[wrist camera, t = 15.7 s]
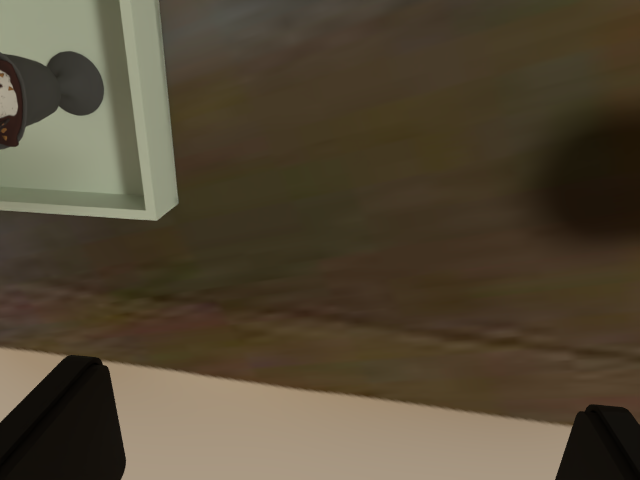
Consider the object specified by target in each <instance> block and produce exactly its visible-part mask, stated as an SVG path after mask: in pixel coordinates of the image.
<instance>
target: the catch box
mask: <svg viewBox="0 0 640 480" xmlns="http://www.w3.org/2000/svg"><path fill="white" fill-rule="evenodd" d="M65 51H72V52H76V53H79V54H81V55H83V56H85V57H86V58H88V59H89V60H90V61H91V62H92V63H93V64H94V65H95V67H96V68H97V69H98V71H99V73H100V75H101V77H102V81H103V85H104V96H103V100H102V103H101V105H100V106H99V108H98V109H97V110H96V111H94V112H93V113H91V114H89V115H83V116H77V115H74V114H71V113H68V112H66V111H65V110H63V109H62V108H60V107H59V106H58V109H57V110H56V111H55V112H54V113H52V114H51V115H49V116H48V117H46V118H44V119H43V120H41V121H39V122H36V123H34V124H32V125H29V126H27V127H26V128H25V131H24V134H23V137H22V139H21V140H20V141H19V145H18V146H17V147H9V148H6V149H1V150H0V210H6V211H21V212H36V213H51V214H66V215H80V216H95V217H110V218H125V219H140V220H155V221H157V220H158V219H159V218H161V217H162V216H163V215H164V214H166V213H167V212H168V211H169V210H171V209H172V208H173V207H174V206H176V205H177V204H178V194H177V183H176V173H175V163H174V152H173V142H172V132H171V121H170V111H169V100H168V90H167V80H166V69H165V59H164V49H163V38H162V28H161V17H160V7H159V0H0V52H1V53H2V54H9V55H15V56H20V57H24V58H27V59H30V60H34V61H37V62H39V63H41V64H43V65H44V66H46V67H47V65H48V63H49V61H50V59H51V58H52V57H53V56H55V55H56V54H58V53H60V52H65Z"/></svg>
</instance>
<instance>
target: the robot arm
mask: <svg viewBox="0 0 640 480" xmlns="http://www.w3.org/2000/svg"><path fill="white" fill-rule="evenodd" d="M125 465H126V457H125V452H124V447H123V441H122V436H121V431H120V426H119V420H118V415H117V409H116V404H115V399H114V393H113V388H112V383H111V378H110V373H109V369H108V367H107V366H104V365H103V364H102V361H101V360H100V359H99V358H96V357H87V356H76V355H70V356H67V357H66V358H64V359H63V360H62V361H61V362H60V363H59V364H58V365H57V366H56V367H55V368H54V369H53V370H52V371H51V372H50V373H49V374H48V375H47V376H46V377H45V378H44V379H43V380H42V381H41V382H40V383H39V384H38V385H37V386H36V387H35V388H34V389H33V390H32V391H31V392H30V393H29V394H28V395H27V396H26V397H25V398H24V399H23V400H22V401H21V402H20V403H19V404H18V405H17V406H16V408H14V409H13V410H12V411H11V412H10V413H9V415H7V416H6V417H5V418H4V419H3V420H2V421H1V423H0V480H121V478H122V476H123V473H124V470H125ZM555 480H640V425H639V424H638V422H637V421H636V420H635V418H634V417H633V415H632V414H631V413H630V412H629V411H628V410H627V409H625V408H623V407H615V406H604V405H594V404H593V405H589V406H588V407H587V408H586V410H585V412H583V411H580V412H579V413H577V415H576V418H575V421H574V424H573V427H572V430H571V433H570V436H569V439H568V442H567V445H566V448H565V451H564V454H563V457H562V460H561V463H560V467H559V470H558V473H557V476H556V479H555Z"/></svg>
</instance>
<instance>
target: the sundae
mask: <svg viewBox="0 0 640 480" xmlns="http://www.w3.org/2000/svg"><path fill="white" fill-rule="evenodd" d="M103 96H104V85H103V81H102V77H101V75H100V73H99V71H98V69H97V68H96V67H95V65H94V64H93V63H92V62H91V61H90V60H89V59H88V58H86V57H85V56H83V55H81V54H79V53H76V52H72V51H65V52H60V53H58V54H56V55H55V56H53V57H52V58H51V59H50V61H49V63H48V65H47V67H46V66H44V65H43V64H41V63H39V62H37V61H34V60H30V59H27V58H24V57H20V56H15V55H9V54H2V53H1V52H0V150H1V149H6V148H9V147H17V146H18V145H19V141H20V140H21V139H22V137H23V134H24V131H25V128H26V127H27V126H29V125H32V124H34V123H36V122H39V121H41V120H43V119H44V118H46V117H48V116H49V115H51V114H52V113H54V112H55V111H56V110H57V109H58V106H59V107H60V108H62V109H63V110H65V111H66V112H68V113H71V114H74V115H77V116H83V115H89V114H91V113H93V112H94V111H96V110H97V109H98V108H99V106H100V105H101V103H102V100H103Z"/></svg>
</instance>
